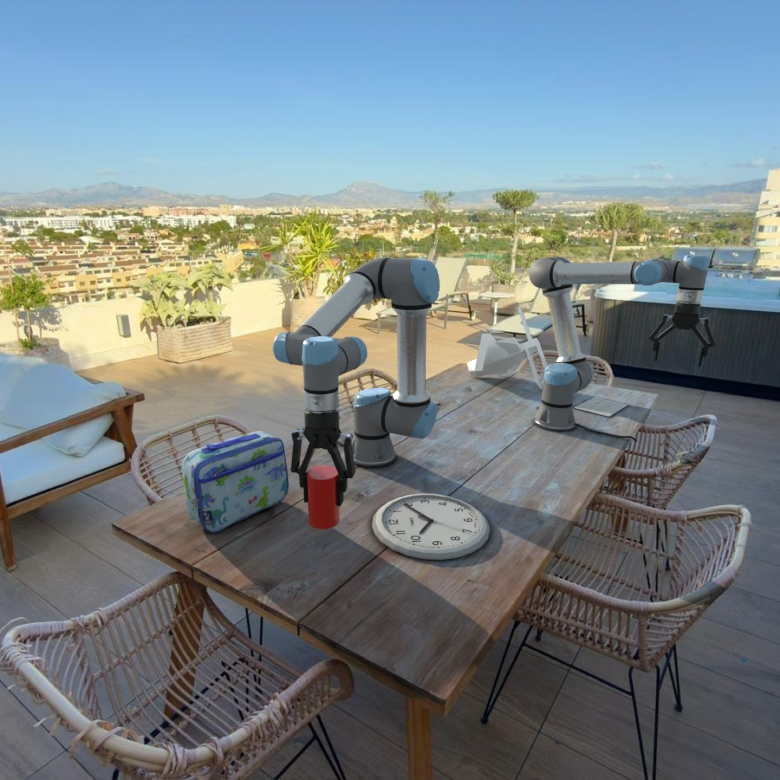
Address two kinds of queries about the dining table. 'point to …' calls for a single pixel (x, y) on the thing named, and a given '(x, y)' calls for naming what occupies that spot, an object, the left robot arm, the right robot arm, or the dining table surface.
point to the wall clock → (431, 526)
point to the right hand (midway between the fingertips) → (677, 362)
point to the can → (322, 497)
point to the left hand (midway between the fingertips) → (323, 501)
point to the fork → (437, 401)
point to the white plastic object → (505, 354)
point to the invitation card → (601, 406)
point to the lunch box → (234, 479)
